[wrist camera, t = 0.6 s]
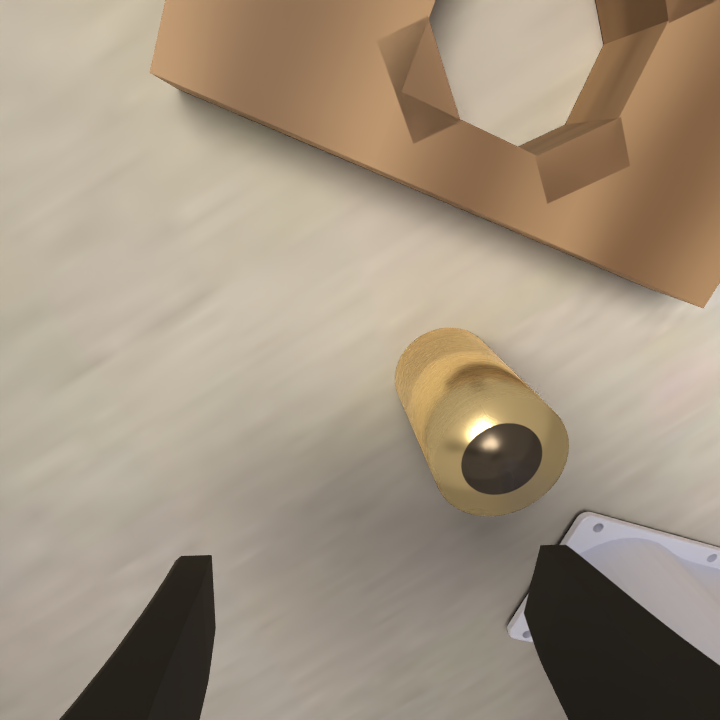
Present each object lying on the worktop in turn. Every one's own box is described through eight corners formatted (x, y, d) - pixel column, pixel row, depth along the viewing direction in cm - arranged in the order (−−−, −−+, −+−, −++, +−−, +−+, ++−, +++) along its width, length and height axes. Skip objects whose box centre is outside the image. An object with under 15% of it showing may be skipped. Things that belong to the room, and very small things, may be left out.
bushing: (510, 346, 20) (594, 420, 14) (466, 430, 21) (528, 528, 15) (419, 314, 19) (471, 379, 13) (379, 404, 20) (412, 499, 14)
